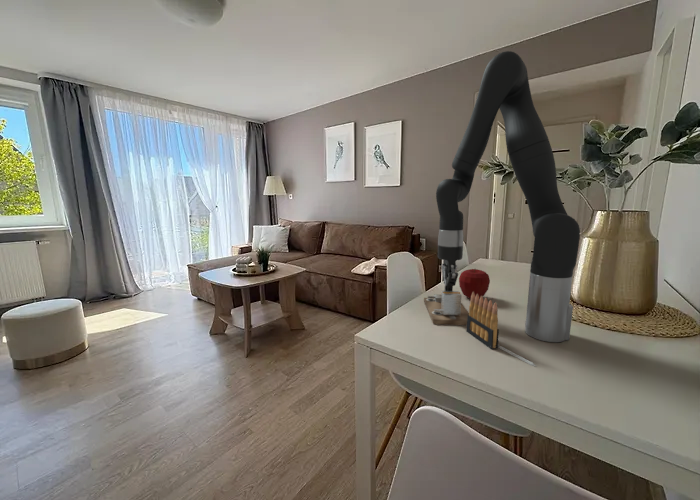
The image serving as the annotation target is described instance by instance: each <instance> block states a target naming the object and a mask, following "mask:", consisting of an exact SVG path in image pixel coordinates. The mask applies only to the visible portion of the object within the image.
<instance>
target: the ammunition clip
mask: <svg viewBox="0 0 700 500" xmlns="http://www.w3.org/2000/svg"><path fill="white" fill-rule="evenodd" d="M469 301H470V302H469V307H468V313H469V315H468V317H467V325H466V329H465V331H466V333H467V334H469V335H470V336H472V337H473V338H475V339H476V340H478V341H479V342H480V343H482V344H483V345H484V346H486V347H487V348H488V349H489V350H497V349H499V348H498V345H499V331H500V329H498V325H499V324H498V323H499V319H498V318H499V317H498V304H497V302H496V301H495V302H494V303H493V300H492V299H490V300H489V301H488V298H487V297H485V298H484V296H481V297H480V299H479V295H478V294H477V295H476V297H475V294H474V292H472V295H471V299H470V300H469Z"/></svg>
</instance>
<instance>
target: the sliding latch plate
mask: <svg viewBox="0 0 700 500" xmlns="http://www.w3.org/2000/svg"><path fill="white" fill-rule="evenodd" d="M441 299H442V294H433V295H427V297H423V303H424V305H425V307H426V310H427V313H428V314H429V318H430V320H431V323H432V324H433V325H447V326H449V325H453V326H458V325H459V326H467V317H468V315H469V310H468V309H466V308H465V306H464V304H463V303H461V314H460V315H443V313H442V312H434V309H441Z"/></svg>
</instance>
